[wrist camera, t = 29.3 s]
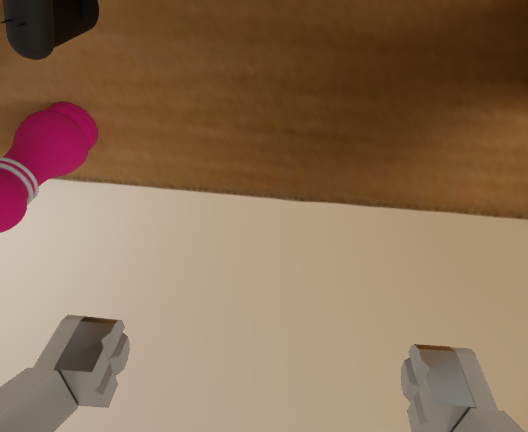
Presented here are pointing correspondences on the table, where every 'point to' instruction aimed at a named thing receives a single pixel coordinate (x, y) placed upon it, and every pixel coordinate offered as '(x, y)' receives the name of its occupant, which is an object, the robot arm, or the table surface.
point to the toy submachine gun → (46, 23)
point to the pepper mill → (42, 156)
